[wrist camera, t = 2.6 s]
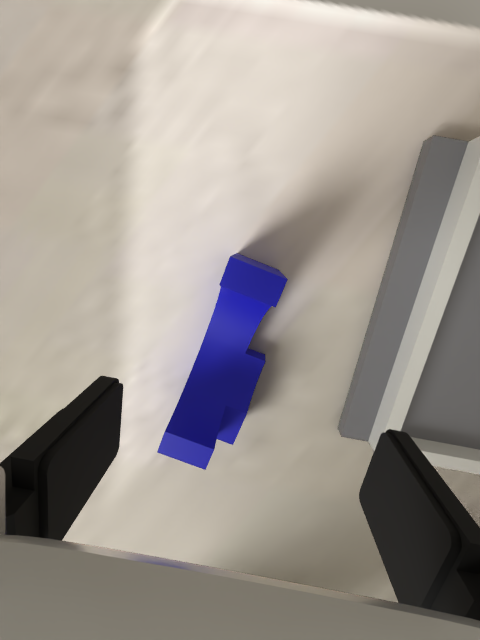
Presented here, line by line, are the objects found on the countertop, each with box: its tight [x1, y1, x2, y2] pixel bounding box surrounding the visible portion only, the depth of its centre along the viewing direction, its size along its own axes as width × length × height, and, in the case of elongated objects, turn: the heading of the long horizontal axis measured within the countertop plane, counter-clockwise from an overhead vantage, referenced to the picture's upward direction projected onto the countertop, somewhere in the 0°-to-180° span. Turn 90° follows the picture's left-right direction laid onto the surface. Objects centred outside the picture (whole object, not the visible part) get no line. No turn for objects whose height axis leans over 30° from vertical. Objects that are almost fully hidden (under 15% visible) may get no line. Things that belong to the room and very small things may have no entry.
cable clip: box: [158, 253, 288, 469], centre depth 19 cm, size 12×4×6 cm, turn 159°
